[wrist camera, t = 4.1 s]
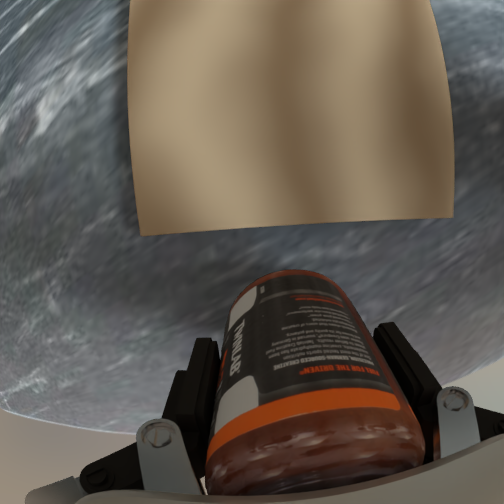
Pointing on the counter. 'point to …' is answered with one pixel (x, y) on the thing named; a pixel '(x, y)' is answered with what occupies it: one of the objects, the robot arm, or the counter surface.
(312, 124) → the birch board
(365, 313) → the counter surface
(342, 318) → the supplement bottle
